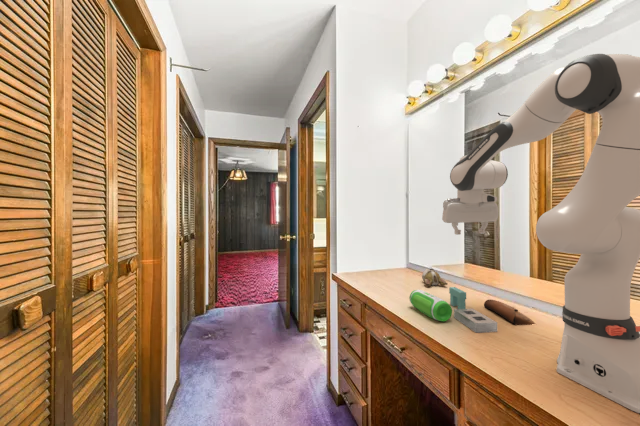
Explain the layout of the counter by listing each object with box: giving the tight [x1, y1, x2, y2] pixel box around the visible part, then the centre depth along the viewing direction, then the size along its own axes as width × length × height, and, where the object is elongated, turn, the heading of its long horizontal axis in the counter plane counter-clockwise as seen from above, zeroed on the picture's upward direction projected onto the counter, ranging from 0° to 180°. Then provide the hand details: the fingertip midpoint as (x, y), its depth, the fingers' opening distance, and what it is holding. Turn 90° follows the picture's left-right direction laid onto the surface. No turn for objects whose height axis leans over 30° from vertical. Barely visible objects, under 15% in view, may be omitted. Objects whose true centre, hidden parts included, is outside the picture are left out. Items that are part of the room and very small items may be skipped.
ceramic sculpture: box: [421, 267, 448, 287], centre depth 148 cm, size 11×9×15 cm
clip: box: [448, 286, 467, 309], centre depth 112 cm, size 8×2×7 cm, turn 3°
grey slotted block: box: [453, 308, 498, 334], centre depth 96 cm, size 13×7×3 cm, turn 3°
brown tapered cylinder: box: [483, 299, 536, 326], centre depth 103 cm, size 18×7×7 cm
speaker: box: [408, 289, 453, 322], centre depth 106 cm, size 18×7×8 cm, turn 12°
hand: (469, 233), depth 109 cm, fingers open, 8 cm apart
